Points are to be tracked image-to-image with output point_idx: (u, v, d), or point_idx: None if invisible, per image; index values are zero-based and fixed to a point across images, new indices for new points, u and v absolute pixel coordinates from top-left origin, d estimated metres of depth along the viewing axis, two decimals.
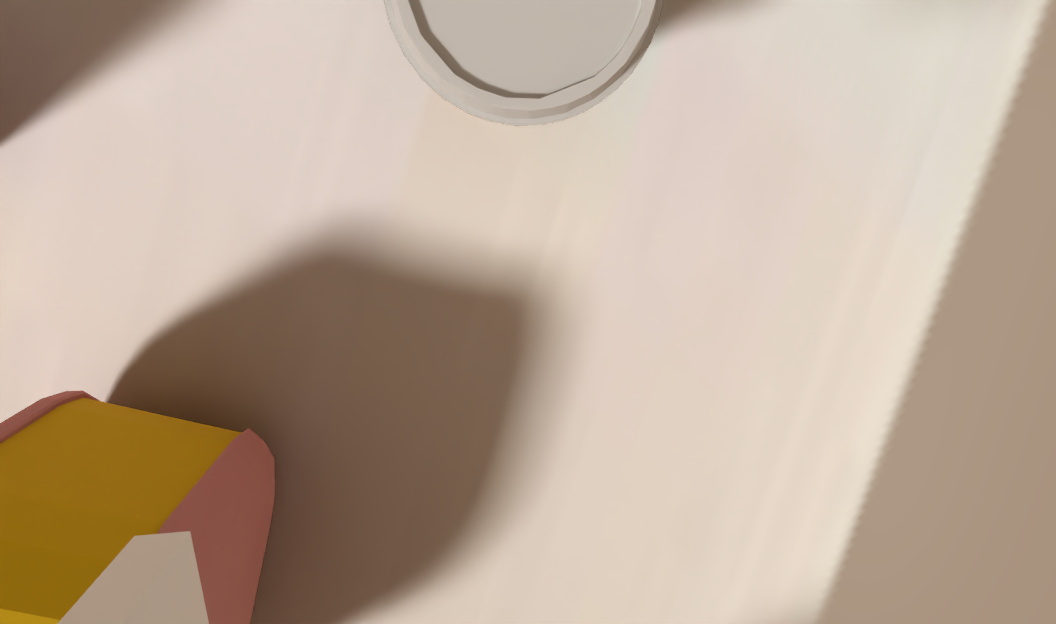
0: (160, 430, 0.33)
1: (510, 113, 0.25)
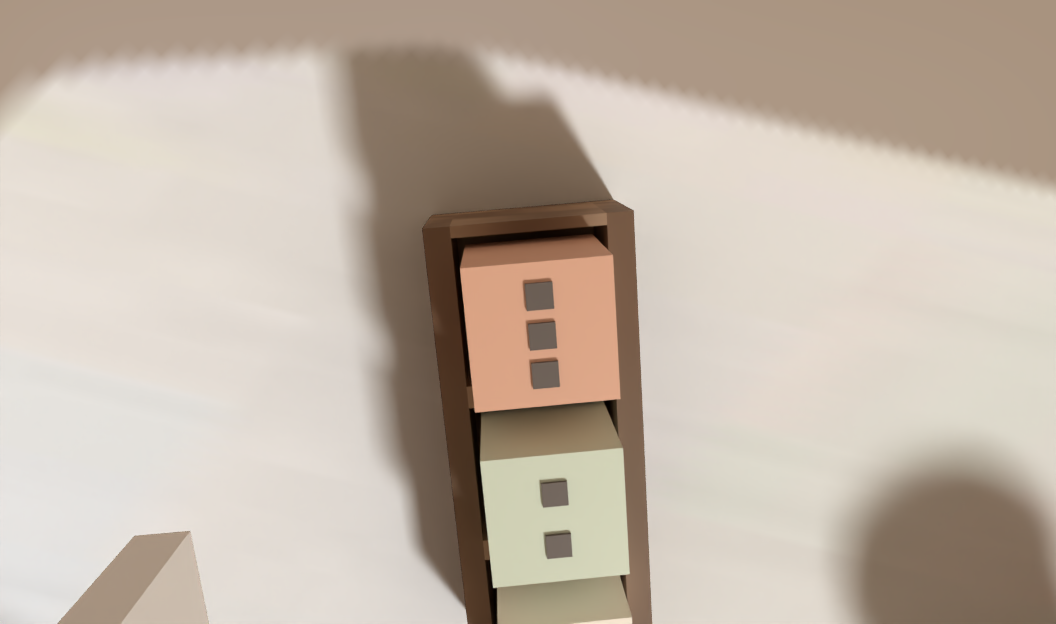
0: None
1: None
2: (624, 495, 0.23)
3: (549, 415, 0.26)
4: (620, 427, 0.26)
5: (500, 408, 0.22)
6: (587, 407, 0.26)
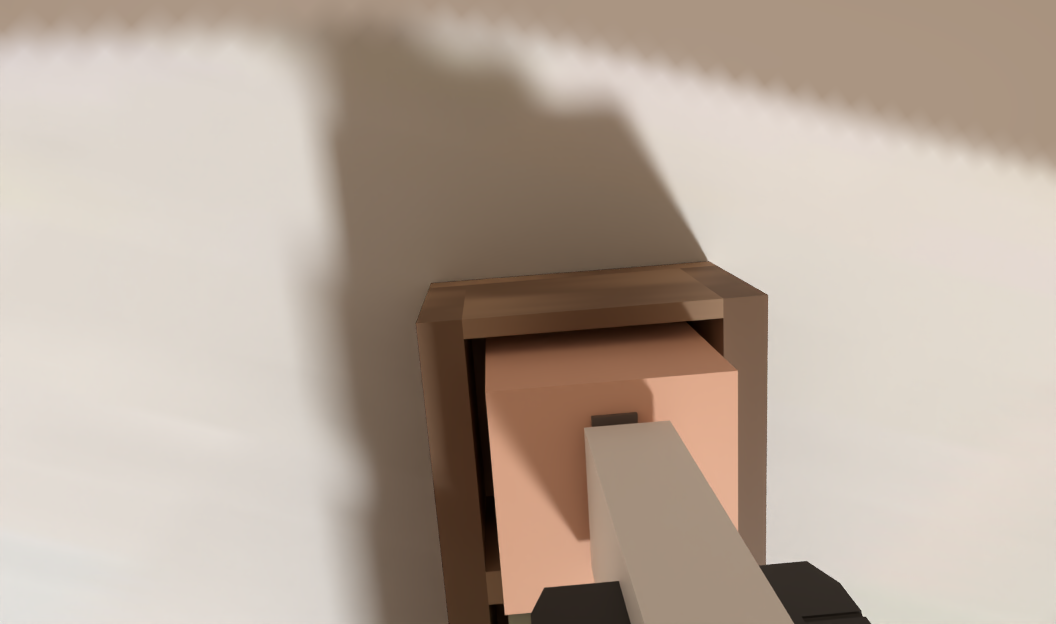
0: None
1: None
2: None
3: None
4: None
5: None
6: None
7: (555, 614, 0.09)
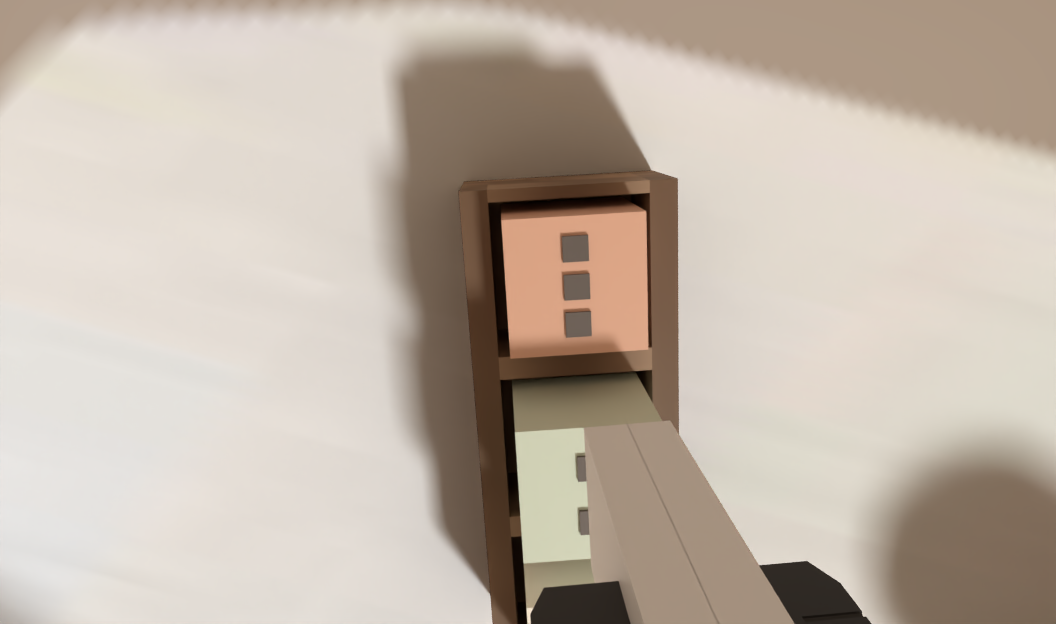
0: None
1: None
2: None
3: (583, 388, 0.25)
4: (655, 403, 0.25)
5: (534, 355, 0.23)
6: (622, 382, 0.25)
7: (555, 614, 0.09)
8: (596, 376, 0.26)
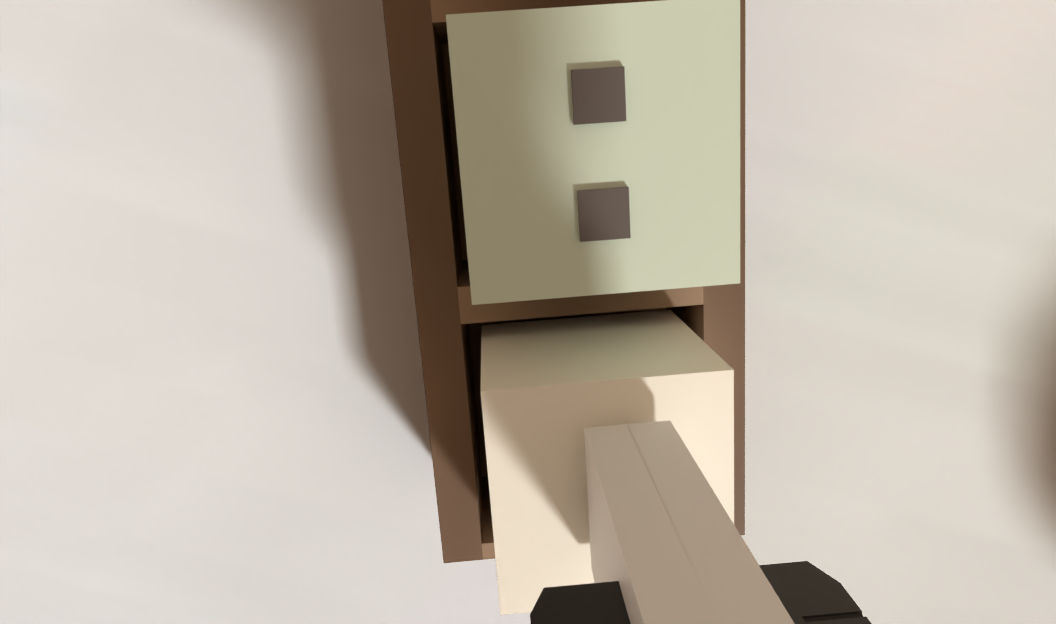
0: None
1: None
2: (737, 107, 0.11)
3: None
4: None
5: None
6: None
7: (555, 614, 0.09)
8: None
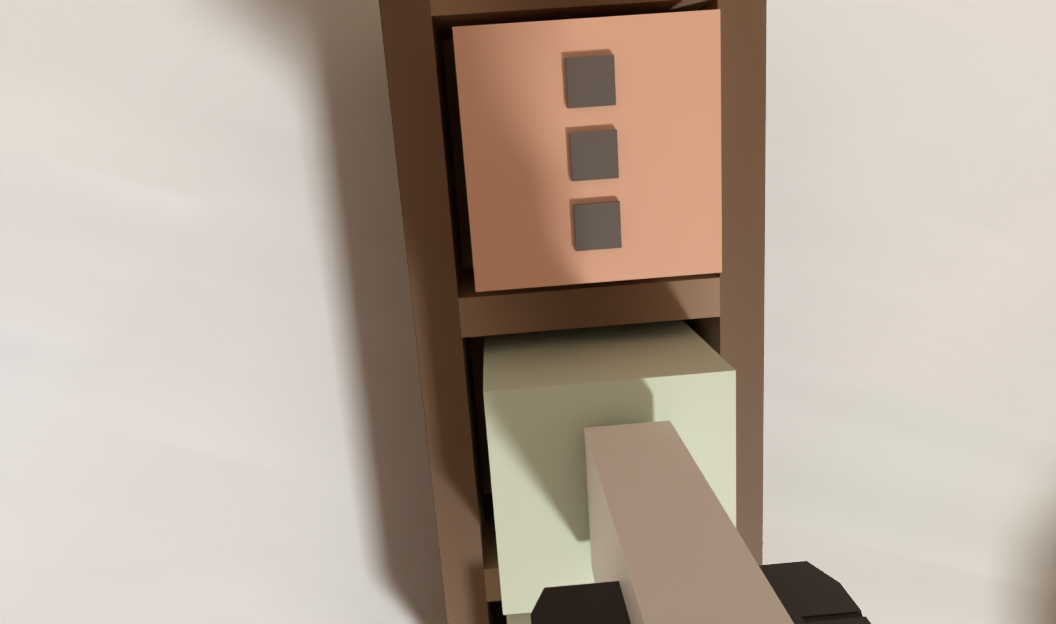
0: None
1: None
2: (734, 455, 0.13)
3: (594, 331, 0.16)
4: None
5: (519, 285, 0.13)
6: (654, 322, 0.16)
7: (555, 614, 0.09)
8: None
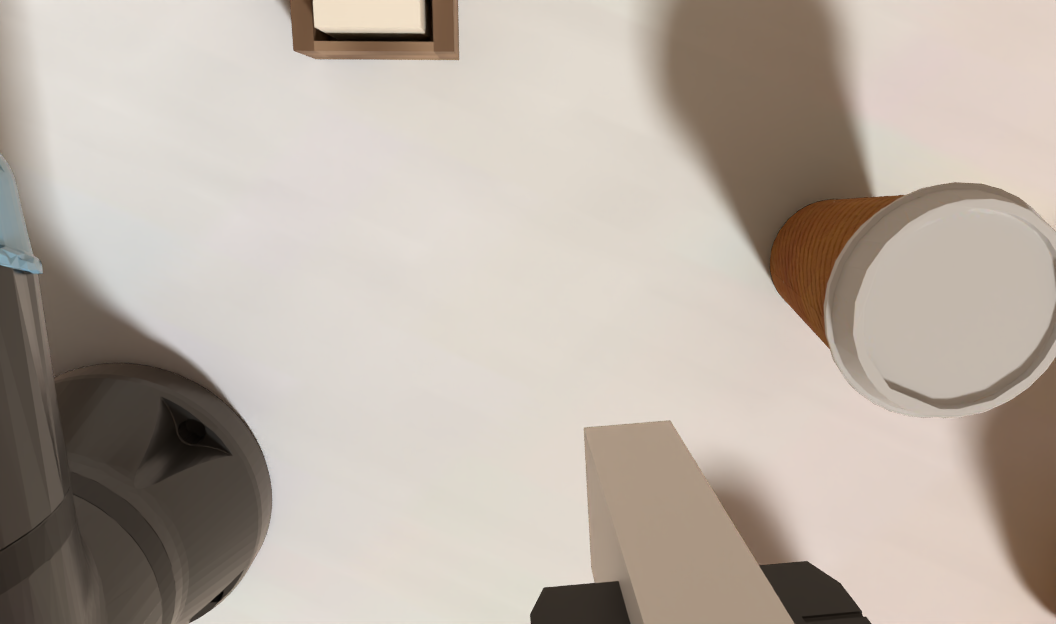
0: None
1: None
2: None
3: None
4: None
5: None
6: None
7: (555, 614, 0.09)
8: None
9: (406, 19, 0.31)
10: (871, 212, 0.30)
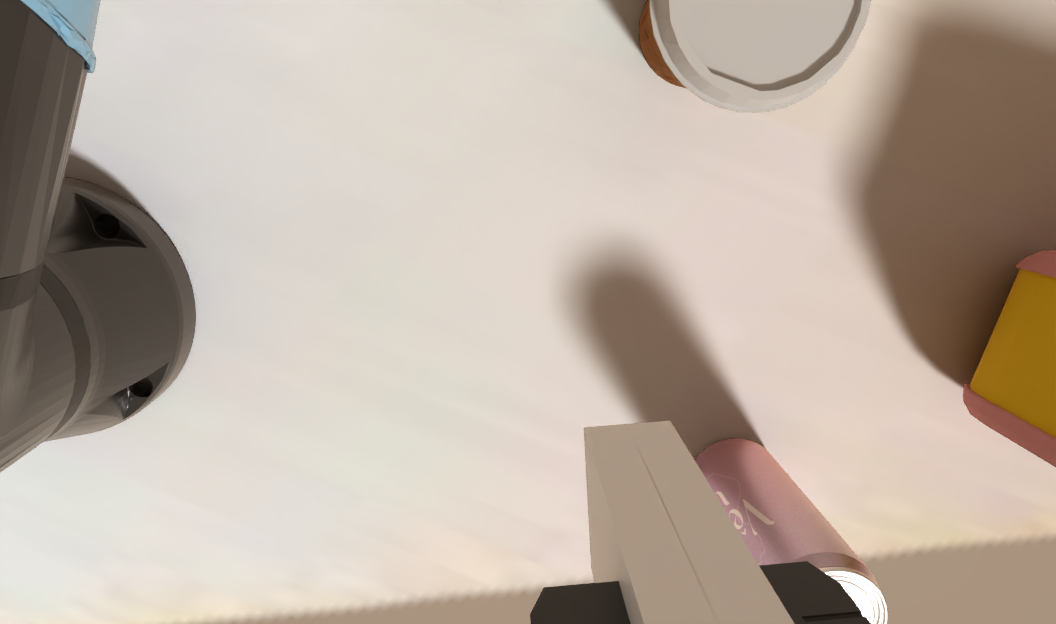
0: (1023, 328, 0.41)
1: None
2: None
3: None
4: None
5: None
6: None
7: (555, 613, 0.09)
8: None
9: None
10: None
